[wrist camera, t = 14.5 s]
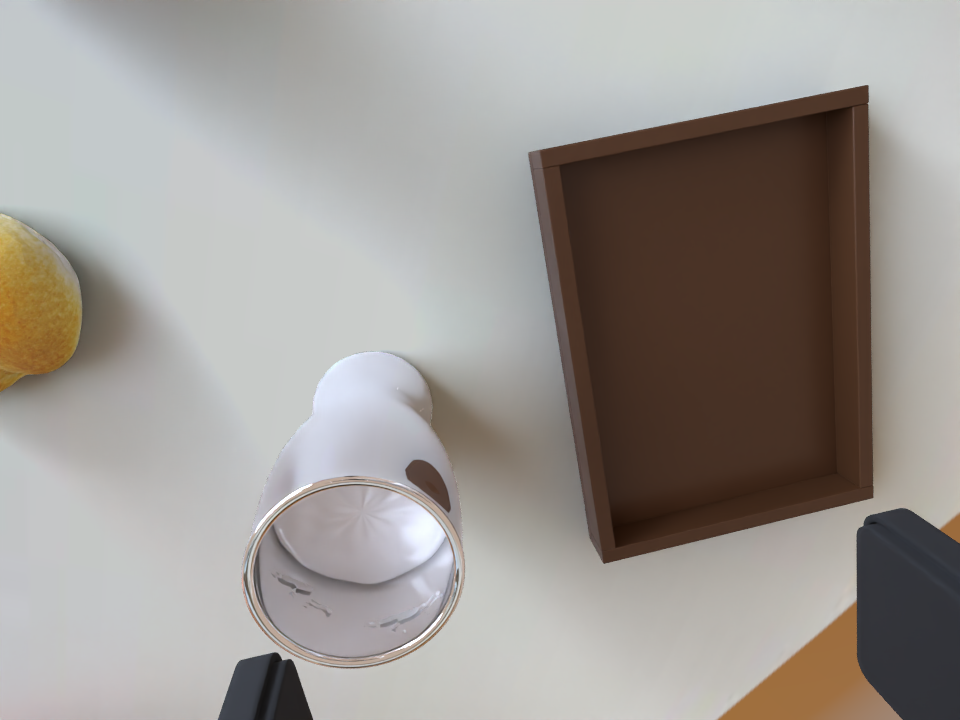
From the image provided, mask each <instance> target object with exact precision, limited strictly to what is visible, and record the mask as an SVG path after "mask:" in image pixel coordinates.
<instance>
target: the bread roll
mask: <svg viewBox="0 0 960 720" xmlns="http://www.w3.org/2000/svg"><path fill="white" fill-rule="evenodd" d="M82 314H83V312H82V296H81V290H80V284H79V279H78V277H77V275H76V273H75V271H74V270H73V268H72V266H71V264H70V263H69V261H68V260H67V259H66V257H65V256H64V255H63V254H62V253H61V252H60V251H59V250H58V248H57V247H56V246H55V245H54V244H52V243H51V242H50V241H49V240H48V239H46V238H45V237H43V236H42V235H41V234H39V233H38V232H36V231H35V230H34V229H32V228H31V227H29V226H27V225H26V224H24V223H22V222H20V221H18V220H16V219H14V218H12V217H9V216H7V215H4V214H1V213H0V392H1V391H3V390H5V389H6V388H8V387H9V386H11V385H12V384H14V383H15V382H16V381H17V380H19V379H20V378H21V377H23V376H25V375H27V374H44V373H49V372H51V371H54V370H56V369H58V368H60V367H61V366H62V365H64V364H65V363H66V362H67V361H68V360H69V359H70V358H71V357H72V355H73V354H74V352H75V350H76V347H77V345H78V342H79V337H80V332H81V324H82Z"/></svg>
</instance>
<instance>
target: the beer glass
mask: <svg viewBox="0 0 960 720" xmlns="http://www.w3.org/2000/svg"><path fill="white" fill-rule="evenodd" d="M431 418H432V398H431V393H430V390H429V387H428V385H427V383H426V381H425V379H424V378H423V376H422V375H421V374H420V373H419V371H418V370H417V369H416V368H415V367H413V366H412V365H411V364H410V363H408V362H407V361H405V360H404V359H402V358H400V357H398V356H395V355H393V354H389V353H385V352H377V351H368V352H360V353H356V354H353V355H350V356H348V357H345V358H343V359H342V360H340V361H338V362H337V363H335V364H334V365H333V366H332V367H331V368H330V369H328V371H327V372H326V373H325V374H324V375H323V377H322V378H321V380H320V382H319V383H318V386H317V388H316V391H315V394H314V399H313V414H312V415H311V416H310V417H309V418H308V419H307V420H306V421H305V422H304V423H303V424H302V425H301V426H300V427H299V428H298V429H297V431H296V432H295V433H294V434H293V436H292V437H291V438H290V439H289V441H288V442H287V443H286V444H285V446H284V447H283V449H282V451H281V452H280V454H279V456H278V458H277V460H276V462H275V464H274V465H273V467H272V469H271V471H270V473H269V476H268V478H267V481H266V483H265V486H264V489H263V492H262V495H261V497H260V500H259V504H258V507H257V511H256V515H255V518H254V522H253V527H252V531H251V535H250V538H249V541H248V543H247V546H246V549H245V552H244V556H243V562H242V573H241V574H242V588H243V593H244V597H245V600H246V603H247V606H248V608H249V611H250V613H251V615H252V616H253V618H254V620H255V621H256V623H257V624H258V626H259V627H260V628H261V630H262V631H263V632H264V633H265V634H266V635H267V636H268V637H269V638H270V639H271V640H272V641H273V642H274V643H276V644H277V645H278V646H280V647H281V648H282V649H284V650H285V651H287V652H289V653H290V654H292V655H294V656H296V657H298V658H300V659H303V660H305V661H308V662H311V663H314V664H318V665H322V666H327V667H333V668H344V669H355V668H367V667H373V666H378V665H382V664H386V663H389V662H392V661H395V660H397V659H400V658H402V657H404V656H406V655H408V654H410V653H412V652H414V651H415V650H417V649H419V648H420V647H422V646H423V645H424V644H426V643H427V642H428V641H429V640H431V639H432V638H433V637H434V636H435V635H436V634H437V633H438V632H439V631H440V630H441V629H442V628H443V626H444V625H445V624H446V623H447V621H448V620H449V618H450V617H451V615H452V614H453V612H454V610H455V608H456V606H457V604H458V602H459V599H460V596H461V593H462V589H463V585H464V579H465V559H464V552H463V529H462V513H461V505H460V497H459V490H458V486H457V482H456V478H455V474H454V471H453V467H452V464H451V461H450V459H449V456H448V454H447V452H446V450H445V448H444V446H443V444H442V442H441V440H440V439H439V437H438V435H437V434H436V432H435V431H434V429H433V428H432V426H431V425H430V422H431Z"/></svg>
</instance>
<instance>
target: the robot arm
mask: <svg viewBox="0 0 960 720" xmlns="http://www.w3.org/2000/svg"><path fill="white" fill-rule="evenodd" d="M857 658H858V663H859V666H860V668H861V671H862V673H863V674H864V676H865V678H866V679H867V680H868V682H869V683H870V684H871V685H872V686H873V687H874V688H875V689H876V691H877V692H878V693H879V694H880V695H881V696H882V697H883V698H884V700H885V701H886V702H887V703H888V704H889V705H890V706H891V707H892V708H893V710H894V711H896V713H897V714H898V715H899V716H900V717H901V718H902V719H903V720H960V544H959V543H958V542H956V541H955V540H953V539H952V538H950V537H949V536H948V535H946V534H945V533H943V532H941V531H940V530H939V529H937V528H936V527H934V526H933V525H931V524H930V523H928V522H927V521H925V520H924V519H922V518H921V517H920V516H918V515H917V514H915V513H914V512H912V511H910V510H908V509H905V508H899V509H895V510H891V511H886V512H882V513H878V514H873V515H870V516H868V517H866V519H865V521H864V526H863V527H860V528H859V529H858V531H857ZM218 720H313V718H312V715H311V712H310V709H309V706H308V703H307V700H306V697H305V694H304V691H303V688H302V685H301V682H300V679H299V676H298V673H297V670H296V667H295V665H294V663H293V661H292V660H291V659H288V660H283V661H282V659H281V656H280V655H279V654H278V653H275V652H274V653H270V654H266V655H261V656H257V657H253V658H248V659H244V660H241V661H239V662H238V664H237V666H236V668H235V671H234V674H233V677H232V680H231V683H230V686H229V688H228V691H227V694H226V697H225V700H224V703H223V706H222V709H221V712H220V715H219V718H218Z"/></svg>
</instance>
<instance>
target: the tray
mask: <svg viewBox="0 0 960 720" xmlns="http://www.w3.org/2000/svg"><path fill="white" fill-rule="evenodd" d="M868 102H869V93H868V85H865V86H860V87H855V88H850V89H845V90H840V91H835V92H830V93H825V94H820V95H815V96H809V97H804V98H799V99H794V100H789V101H784V102H779V103H774V104H769V105H764V106H759V107H754V108H749V109H744V110H739V111H734V112H729V113H724V114H719V115H714V116H709V117H704V118H699V119H694V120H689V121H684V122H679V123H674V124H669V125H664V126H659V127H653V128H648V129H643V130H638V131H633V132H628V133H623V134H618V135H613V136H608V137H603V138H598V139H593V140H588V141H583V142H578V143H573V144H568V145H563V146H558V147H553V148H548V149H543V150H538V151H533V152H529V161H530V167H531V173H532V179H533V186H534V192H535V198H536V204H537V211H538V217H539V223H540V229H541V236H542V242H543V248H544V254H545V261H546V267H547V273H548V279H549V286H550V292H551V298H552V304H553V311H554V317H555V323H556V329H557V336H558V342H559V348H560V354H561V361H562V367H563V373H564V379H565V386H566V392H567V398H568V404H569V411H570V417H571V423H572V429H573V436H574V442H575V448H576V454H577V461H578V467H579V473H580V479H581V486H582V492H583V498H584V504H585V511H586V517H587V523H588V529H589V536H590V539H591V541H592V543H593V545H594V547H595V549H596V551H597V552H598V554H599V556H600V558H601V560H602V562H603V563H604V564H605V563H609V562H613V561H617V560H621V559H625V558H629V557H634V556H638V555H642V554H646V553H650V552H654V551H658V550H662V549H666V548H670V547H674V546H679V545H683V544H687V543H691V542H695V541H699V540H703V539H707V538H711V537H715V536H719V535H724V534H728V533H732V532H736V531H740V530H744V529H748V528H752V527H756V526H760V525H764V524H769V523H773V522H777V521H781V520H785V519H789V518H793V517H797V516H801V515H805V514H809V513H814V512H818V511H822V510H826V509H830V508H834V507H838V506H842V505H846V504H850V503H854V502H859V501H863V500H867V499H871V498H873V445H872V364H871V283H870V202H869V121H868V104H867V103H868Z"/></svg>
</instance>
